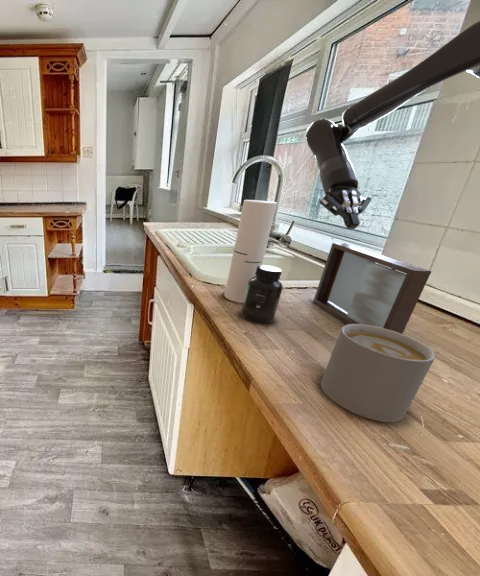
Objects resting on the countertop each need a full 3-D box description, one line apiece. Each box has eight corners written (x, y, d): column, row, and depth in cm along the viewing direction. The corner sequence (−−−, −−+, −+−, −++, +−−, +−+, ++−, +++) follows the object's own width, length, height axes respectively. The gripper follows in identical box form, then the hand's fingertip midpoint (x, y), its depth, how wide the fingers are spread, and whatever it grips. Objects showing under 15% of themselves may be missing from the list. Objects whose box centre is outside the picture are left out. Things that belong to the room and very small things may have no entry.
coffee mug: (412, 434, 40) (447, 371, 36) (321, 402, 45) (344, 344, 41) (390, 380, 51) (416, 327, 47) (319, 359, 56) (337, 310, 52)
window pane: (325, 299, 80) (342, 249, 75) (361, 300, 79) (380, 251, 75) (352, 315, 71) (373, 260, 66) (392, 317, 70) (416, 263, 66)
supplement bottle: (235, 315, 71) (246, 266, 67) (248, 308, 76) (260, 261, 71) (265, 327, 67) (280, 275, 62) (278, 318, 71) (292, 269, 66)
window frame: (312, 301, 81) (332, 242, 76) (325, 302, 81) (345, 243, 75) (379, 346, 61) (413, 270, 55) (396, 347, 61) (431, 271, 55)
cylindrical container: (230, 290, 87) (250, 199, 77) (257, 298, 82) (281, 202, 73) (219, 296, 82) (239, 200, 73) (247, 305, 77) (271, 203, 68)
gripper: (322, 165, 84) (338, 217, 77) (371, 167, 84) (391, 220, 77) (305, 184, 91) (318, 234, 84) (351, 186, 91) (367, 236, 84)
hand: (353, 227), depth 80 cm, fingers closed
